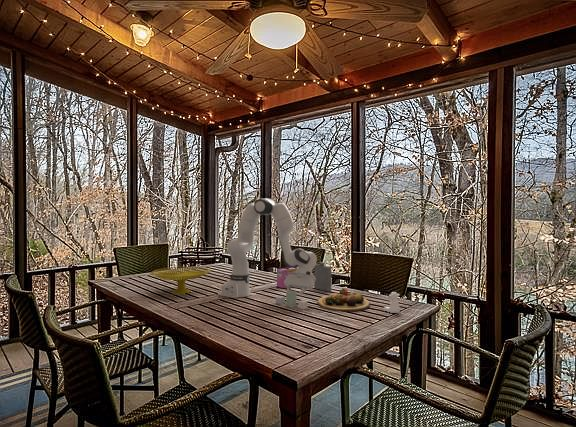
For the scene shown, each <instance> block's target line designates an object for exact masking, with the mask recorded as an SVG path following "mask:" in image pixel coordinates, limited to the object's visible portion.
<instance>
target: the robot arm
mask: <svg viewBox="0 0 576 427" xmlns="http://www.w3.org/2000/svg"><path fill="white" fill-rule="evenodd" d="M262 215H263V216H267V215H271V216H272V217H273V220H274V222H275V224H276V227H277V236H278V242H279V244H280V248H281V251H282V252H281V253H282V259H283V260H282V261H283V264H284V265H285V266H286V267H295V266H299V268H298V270H297V272H296V273H291V274H289V275H288V276H287V278H286V279H285V281H284V284H285V285H286V286H287V287H286V288H287V289H286V292H287V291H291V289H290V288H296V289H297V288H298V289H300V290H299V291H298V294H299V295H303V293H304V292H306V291H307V290H308V291H311V290H313V288H314V283H315V282H314V281H315V280H316V278H315V276H314V274H313V272H312V271H313V270H314V267H315V264H317V260H318V257H317V255H316V254H315V253H314V252H313V251H306V250H304V249H303V248H300V247H299V248H296V249H293V250H292V247H291V244H290V240H289V237H290V234H291V232H292V231H293V229H294V225H295V224H294V219H293V216H292V214H291V213H290V210H289V208H288V207H287V205H286V204H285V203H284V202H278V203H277V201H276V200H275V199H273V198H269V197H268V198H267V197H265V198H263V197H262V198H258V199H257V200H256V201H254V203H248V204H247V205H246V206H245V209H244V211H243V213H242V216H241V218H240V220H239V223H238V228H237V229H238V236H237V238H233V239H231V240H230V241H229V242H228V244H227V246H226V248H227V251H228V253H229V256H230V258H231V261H232V262H231V263H232V264H231V265H232V268H231V269H232V273H231V274H230V275H228V277H229V280H227V281H226V282H225V283H224V284H222V287H221V290H220V291H219V292H218V293H217V295H218V296H222V297H228V298H232V299H233V298H235V299H236V298H245V297H249V296H251V295H252V292H251V289H250V273H249V270H250V268H249V265H250V264H249V261H248V258H247V255H246V253H249V252H250V251H251V250H252V249H253V247H254V234H255V230H256V227H257V225H258V224H257V223H258V221H259V218H260V216H262Z"/></svg>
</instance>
